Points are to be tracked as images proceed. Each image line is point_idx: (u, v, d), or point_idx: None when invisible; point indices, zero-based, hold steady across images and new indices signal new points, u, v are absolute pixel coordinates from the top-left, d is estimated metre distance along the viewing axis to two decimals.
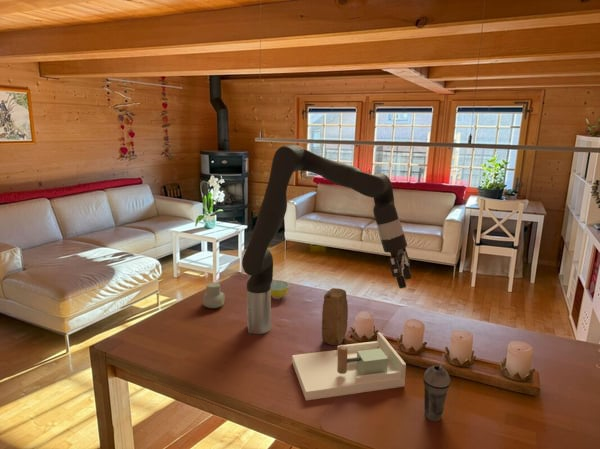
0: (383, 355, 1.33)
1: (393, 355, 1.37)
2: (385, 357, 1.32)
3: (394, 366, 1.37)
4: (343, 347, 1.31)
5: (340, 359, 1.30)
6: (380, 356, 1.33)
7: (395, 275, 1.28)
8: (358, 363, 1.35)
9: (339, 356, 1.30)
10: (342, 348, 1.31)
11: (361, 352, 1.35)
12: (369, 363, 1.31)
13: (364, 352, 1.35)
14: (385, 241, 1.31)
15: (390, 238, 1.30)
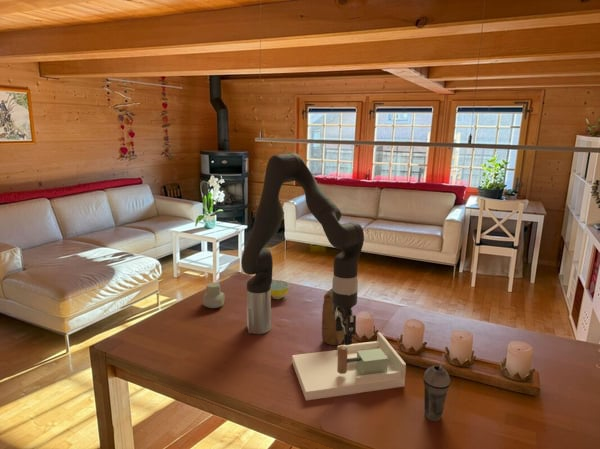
0: (383, 355, 1.33)
1: (393, 355, 1.37)
2: (385, 357, 1.32)
3: (394, 366, 1.37)
4: (343, 347, 1.31)
5: (340, 359, 1.30)
6: (380, 356, 1.33)
7: (350, 333, 1.22)
8: (358, 363, 1.35)
9: (339, 356, 1.30)
10: (342, 348, 1.31)
11: (361, 352, 1.35)
12: (369, 363, 1.31)
13: (364, 352, 1.35)
14: (343, 295, 1.22)
15: (350, 294, 1.22)
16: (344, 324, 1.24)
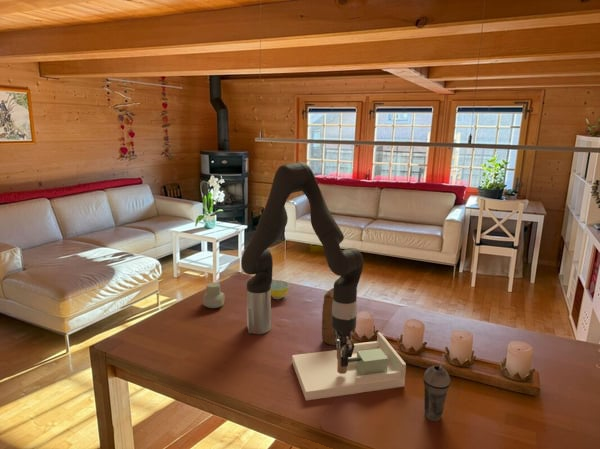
0: (383, 355, 1.33)
1: (393, 355, 1.37)
2: (385, 357, 1.32)
3: (394, 366, 1.37)
4: None
5: (340, 359, 1.30)
6: (380, 356, 1.33)
7: (346, 356, 1.26)
8: (358, 363, 1.35)
9: (339, 356, 1.30)
10: None
11: (361, 352, 1.35)
12: (369, 363, 1.31)
13: (364, 352, 1.35)
14: (342, 320, 1.24)
15: (349, 319, 1.24)
16: (342, 348, 1.28)
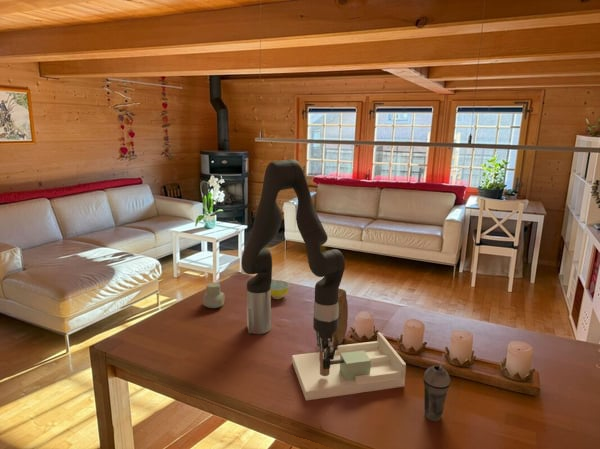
0: (366, 357, 1.32)
1: (393, 355, 1.37)
2: (368, 359, 1.31)
3: (394, 366, 1.37)
4: None
5: None
6: (363, 358, 1.32)
7: (328, 358, 1.25)
8: (341, 365, 1.34)
9: (321, 358, 1.29)
10: None
11: (344, 354, 1.34)
12: (352, 365, 1.29)
13: (347, 354, 1.34)
14: (324, 322, 1.23)
15: (331, 320, 1.23)
16: (323, 350, 1.26)
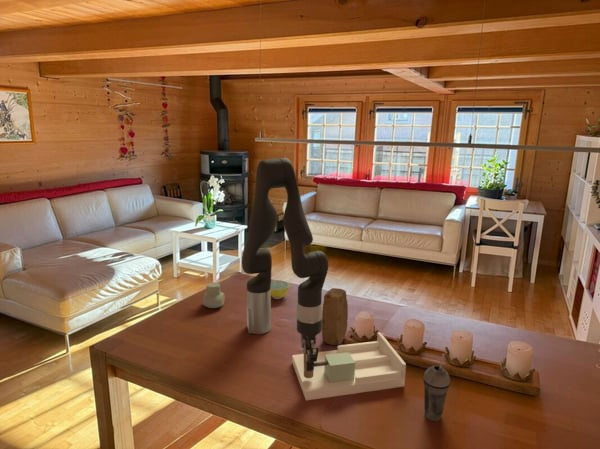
0: (350, 359, 1.31)
1: (393, 355, 1.37)
2: (352, 361, 1.30)
3: (394, 366, 1.37)
4: None
5: None
6: (347, 360, 1.30)
7: (311, 361, 1.24)
8: (325, 367, 1.33)
9: (305, 360, 1.28)
10: None
11: (328, 356, 1.33)
12: (336, 367, 1.28)
13: (331, 356, 1.33)
14: (306, 324, 1.22)
15: (313, 322, 1.22)
16: (307, 352, 1.25)
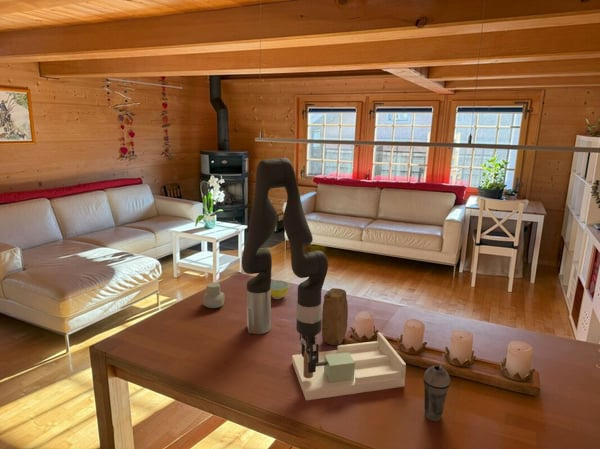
0: (350, 359, 1.31)
1: (393, 355, 1.37)
2: (352, 361, 1.30)
3: (394, 366, 1.37)
4: None
5: (306, 364, 1.28)
6: (347, 360, 1.30)
7: (313, 362, 1.21)
8: (325, 367, 1.33)
9: (305, 361, 1.28)
10: None
11: (328, 356, 1.33)
12: (335, 367, 1.28)
13: (331, 356, 1.33)
14: (306, 324, 1.22)
15: (313, 322, 1.22)
16: (308, 352, 1.24)
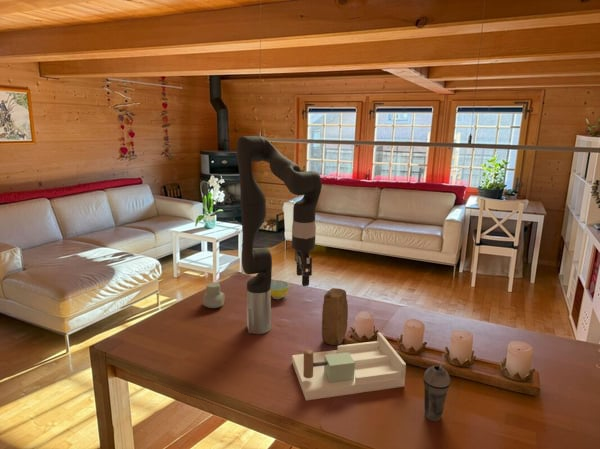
0: (350, 359, 1.31)
1: (393, 355, 1.37)
2: (352, 361, 1.30)
3: (394, 366, 1.37)
4: (309, 351, 1.29)
5: (306, 364, 1.28)
6: (347, 360, 1.30)
7: (306, 274, 1.31)
8: (325, 367, 1.33)
9: (305, 361, 1.28)
10: (307, 352, 1.28)
11: (328, 356, 1.33)
12: (335, 367, 1.28)
13: (331, 356, 1.33)
14: (301, 239, 1.31)
15: (307, 238, 1.31)
16: (302, 266, 1.33)
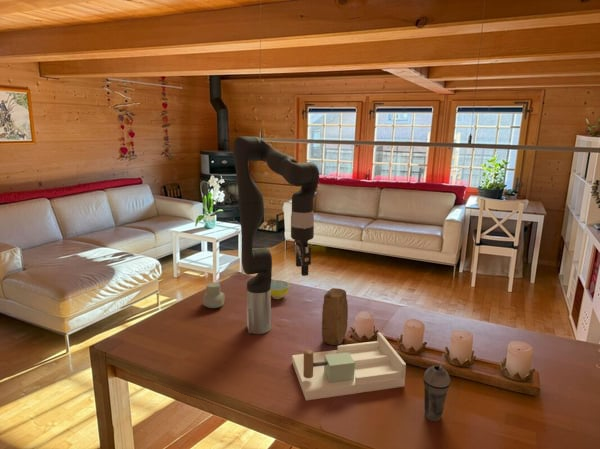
0: (350, 359, 1.31)
1: (393, 355, 1.37)
2: (352, 361, 1.30)
3: (394, 366, 1.37)
4: (309, 351, 1.29)
5: (306, 364, 1.28)
6: (347, 360, 1.30)
7: (305, 263, 1.33)
8: (325, 367, 1.33)
9: (305, 361, 1.28)
10: (307, 352, 1.28)
11: (328, 356, 1.33)
12: (335, 367, 1.28)
13: (331, 356, 1.33)
14: (299, 229, 1.34)
15: (306, 227, 1.34)
16: (301, 256, 1.36)
